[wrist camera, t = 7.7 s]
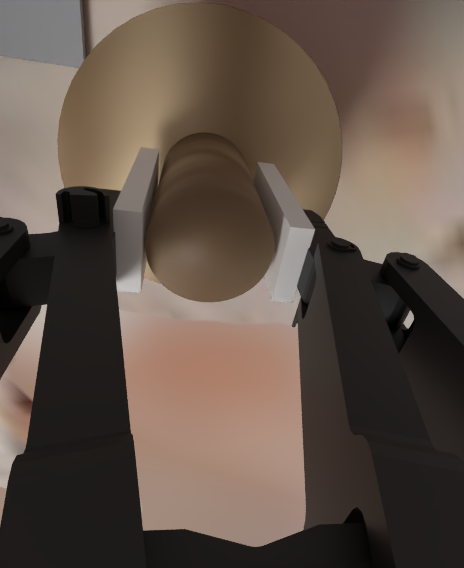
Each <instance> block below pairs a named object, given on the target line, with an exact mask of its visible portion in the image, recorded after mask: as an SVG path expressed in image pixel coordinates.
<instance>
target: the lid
mask: <svg viewBox="0 0 464 568" xmlns="http://www.w3.org/2000/svg"><path fill="white" fill-rule="evenodd" d="M141 147H144V148H152V149H159V171H158V188H157V193H156V197H155V201H154V205H153V209H152V214H151V218H150V222H149V226H148V230H147V235H146V241H145V253H146V257H147V263H146V268H145V273H144V278H146V279H149V280H151V281H154V282H157V283H160V284H162V285H163V286H165V287H166V288H167V289H168V290H170V291H172V292H173V293H175V294H177V295H179V296H181V297H183V298H186V299H189V300H194V301H199V302H219V301H224V300H229V299H232V298H235V297H237V296H239V295H242V294H243V293H245V292H247V291H248V290H250V289H251V288H253V287H254V286H255V285H256V284H257V283H258V282H259V281H260V280H261V279H262V278H263V277H264V275H265V274H266V272H267V270H268V269H269V266H270V264H271V262H272V259H273V254H274V234H273V231H272V227H271V225H270V222H269V220H268V217H267V215H266V212H265V210H264V207H263V205H262V202H261V200H260V197H259V195H258V192H257V190H256V187H255V185H254V178H255V173H256V167H257V162H262V163H270V164H274V165H275V166H276V168H277V169H278V171H279V173H280V174H281V176H282V177H283V179H284V181H285V182H286V184H287V185H288V187H289V189H290V190H291V192H292V193H293V195H294V197H295V198H296V200H297V201H298V203H299V205H300V206H301V208H302V209H305V210H312V211H313V212H315V213H316V214H318V215H319V216H321V218H322V219H323V220H324V219H325V217H326V215H327V213H328V211H329V209H330V207H331V204H332V201H333V199H334V196H335V194H336V190H337V186H338V182H339V178H340V172H341V164H342V135H341V127H340V120H339V117H338V113H337V109H336V106H335V102H334V99H333V97H332V95H331V92H330V90H329V88H328V85H327V83H326V81H325V80H324V78H323V76H322V75H321V73H320V71H319V70H318V68H317V66H316V65H315V63H314V62H313V61H312V60H311V58H310V57H309V56H308V55H307V54H306V52H305V51H304V50H303V49H302V48H301V47H300V46H299V45H298V44H297V43H296V42H295V41H294V40H293V39H291V38H290V37H289V36H288V35H287V34H286V33H285V32H283V31H282V30H280V29H279V28H277V27H276V26H274V25H273V24H271V23H270V22H268V21H266V20H264V19H262V18H260V17H258V16H256V15H253V14H251V13H249V12H247V11H244V10H240V9H237V8H233V7H229V6H226V5H220V4H211V3H201V2H200V3H182V4H174V5H170V6H165V7H161V8H156V9H153V10H151V11H149V12H146V13H144V14H141V15H139V16H136V17H134V18H132V19H131V20H129V21H127V22H126V23H124V24H122V25H121V26H119V27H118V28H116V29H114V30H113V31H112V32H111V33H110V34H109V35H108V36H106V37H105V38H104V39H103V40H102V41H101V42H100V43H98V44H97V45H96V47H95V48H94V49H93V50H92V51H91V53H90V54H89V55H88V56H87V58H86V59H85V60H84V61H83V63H82V64H81V66H80V68H79V70H78V71H77V73H76V75H75V76H74V78H73V80H72V82H71V84H70V87H69V89H68V92H67V94H66V97H65V99H64V103H63V107H62V112H61V116H60V120H59V131H58V158H59V165H60V171H61V176H62V180H63V184H64V187H65V188H68V187H73V186H88V187H95V188H99V189H109V190H119V191H121V190H122V188H123V186H124V184H125V181H126V179H127V177H128V175H129V172H130V170H131V168H132V166H133V164H134V161H135V159H136V157H137V155H138V152H139V150H140V148H141Z"/></svg>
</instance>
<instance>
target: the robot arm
mask: <svg viewBox="0 0 464 568" xmlns="http://www.w3.org/2000/svg"><path fill="white" fill-rule="evenodd" d="M158 171H159V149H152V148H144V147H141V148H140V150H139V152H138V155H137V157H136V159H135V161H134V164H133V166H132V168H131V170H130V172H129V175H128V177H127V179H126V181H125V184H124V186H123V188H122V190H121V191H119V190H109V189H99V188H95V187H88V186H73V187H68V188H64V189H62V190H59V191H58V192H57V193H56V200H57V208H58V216H59V230H58V231H57V232H52V233H43V234H28V230H27V226H26V224H25V223H24V222H22V221H20V220H17V219H12V218H2V217H0V379H1V377H2V375H3V374H4V372H5V370H6V369H7V367H8V365H9V364H10V362H11V360H12V358H13V357H14V355H15V353H16V352H17V350H18V348H19V347H20V345H21V343H22V341H23V340H24V338H25V336H26V335H27V333H28V331H29V330H30V327H31V326H32V324H33V323H34V321H35V319H36V317H37V316H38V314H39V313H40V309H41V305H44V304H47V311H46V317H45V324H44V331H43V337H42V344H41V351H40V358H39V364H38V372H37V378H36V385H35V392H34V398H33V405H32V412H31V418H30V425H29V432H28V439H27V444H26V449H25V451H24V453H23V454H20V455H17V456H16V458H15V460H14V462H13V464H12V468H11V472H10V476H9V480H8V485H7V491H6V498H5V503H4V508H3V514H2V520H1V525H0V568H464V299H463V298H462V297H461V296H460V295H459V294H458V293H457V292H456V291H455V290H454V289H453V288H452V287H451V286H449V285H448V284H447V283H446V282H445V281H444V280H443V279H442V278H441V277H440V276H439V275H438V274H437V273H436V272H435V271H434V270H433V269H432V268H431V267H429V266H428V265H427V264H426V263H425V262H423V261H422V260H420V259H418V258H416V256H414V255H411V254H410V255H409V254H408V253H399V252H391V253H389V254H387V255H386V258H385V260H384V262H383V264H379V263H375V262H371V261H367V260H364V259H363V257H362V254H361V252H360V250H359V248H358V247H357V246H356V245H355V244H353V243H351V242H349V241H347V240H344V239H341V238H337V237H335V236H334V235H333V233H332V232H331V231H330V229H328V226H327V225H326V224H325V222H324V221H323V219H322V218H321V216H319V215H318V214H316V213H315V212H313V211H312V210H305V209H302V208H301V206H300V205H299V203H298V201H297V200H296V198H295V197H294V195H293V193H292V192H291V190H290V189H289V187H288V185H287V184H286V182H285V181H284V179H283V177H282V176H281V174H280V173H279V171H278V169H277V168H276V166H275V165H274V164H270V163H262V162H257V167H256V173H255V178H254V185H255V187H256V190H257V192H258V195H259V197H260V200H261V202H262V205H263V207H264V210H265V212H266V215H267V217H268V220H269V222H270V225H271V227H272V231H273V234H274V254H273V259H272V262H271V264H270V266H269V269H268V270H267V272H266V274H265V275H264V278H265V281H266V285H267V288H268V291H269V295H270V298H271V301H278V302H293V301H294V298H295V294H296V291H297V288H298V290H299V293H300V295H301V298H300V302H299V305H298V308H297V311H296V314H295V317H294V321H293V324H292V327H295V326H296V323H298V337H299V358H300V379H301V380H300V381H301V402H302V403H301V404H302V424H303V425H302V426H303V449H304V471H305V493H306V519H305V525H304V530H303V531H301V532H298V533H296V534H293V535H290V536H288V537H285V538H283V539H280V540H277V541H275V542H272V543H269V544H267V545H264V546H261V547H251V546H246V545H243V544H239V543H235V542H231V541H228V540H223V539H220V538H216V537H212V536H209V535H205V534H201V533H197V532H193V531H189V530H186V529H178V530H150V531H143V527H142V518H141V507H140V498H139V488H138V479H137V468H136V459H135V450H134V441H133V435H132V434H131V430H130V421H129V410H128V400H127V389H126V379H125V369H124V358H123V349H122V338H121V328H120V317H119V306H118V296H117V291H125V292H141V289H142V283H143V278H144V273H145V268H146V263H147V257H146V253H145V241H146V235H147V230H148V226H149V222H150V218H151V214H152V209H153V205H154V201H155V197H156V193H157V188H158ZM410 310H411V311H412V313H413V315H414V321H413V323H412V324H411V326H410V327H409V329H407V328H406V327H405V325H404V324H403V323H404V321H405V319H406V317H407V315H408V313H409V311H410Z"/></svg>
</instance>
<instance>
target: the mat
mask: <svg viewBox="0 0 464 568" xmlns="http://www.w3.org/2000/svg"><path fill="white" fill-rule="evenodd" d="M0 56H6V57H12V58H18V59H25V60H31V61H38V62H44V63H50V64H57V65H63V66H69V67H76V68H80V66H81V64H82V63H83V61H84V60H85V59H86V48H85V32H84V17H83V1H82V0H0Z"/></svg>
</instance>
